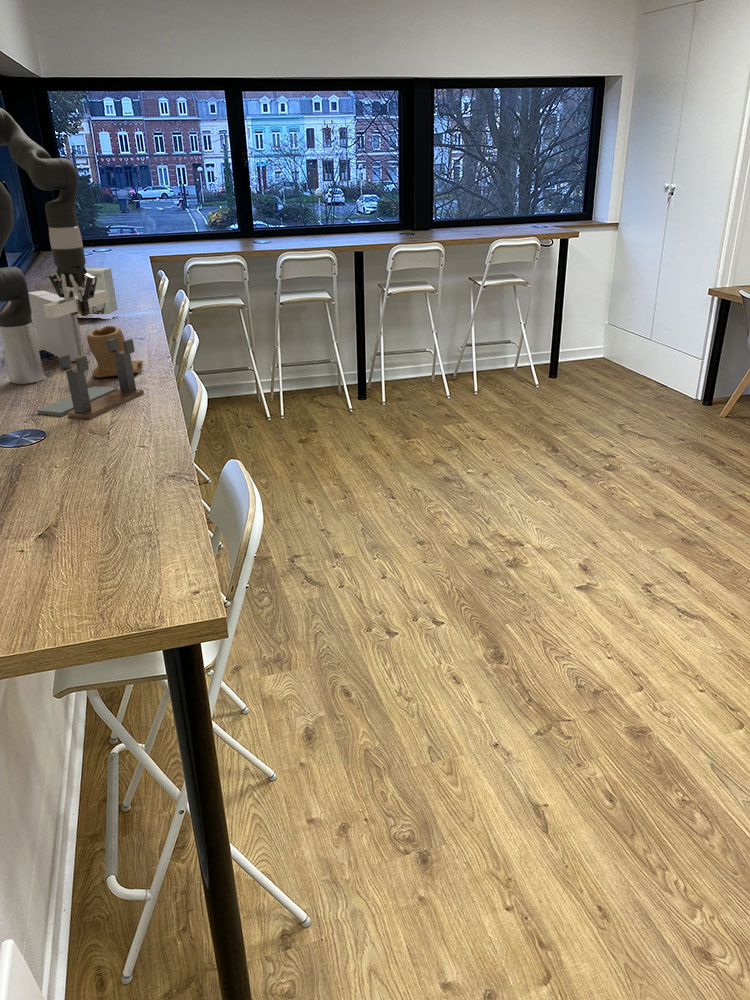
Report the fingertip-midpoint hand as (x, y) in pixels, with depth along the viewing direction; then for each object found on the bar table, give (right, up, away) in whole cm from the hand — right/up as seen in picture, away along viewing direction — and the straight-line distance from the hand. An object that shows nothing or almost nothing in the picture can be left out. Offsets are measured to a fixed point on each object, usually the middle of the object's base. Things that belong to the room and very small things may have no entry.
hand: (79, 314), depth 196 cm
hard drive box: (-40, +28, +121) cm, 130 cm away
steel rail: (0, +1, -1) cm, 1 cm away
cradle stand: (+4, -23, +9) cm, 25 cm away
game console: (-31, +1, +63) cm, 70 cm away
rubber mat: (-5, -21, +12) cm, 25 cm away
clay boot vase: (-2, -10, +36) cm, 38 cm away
